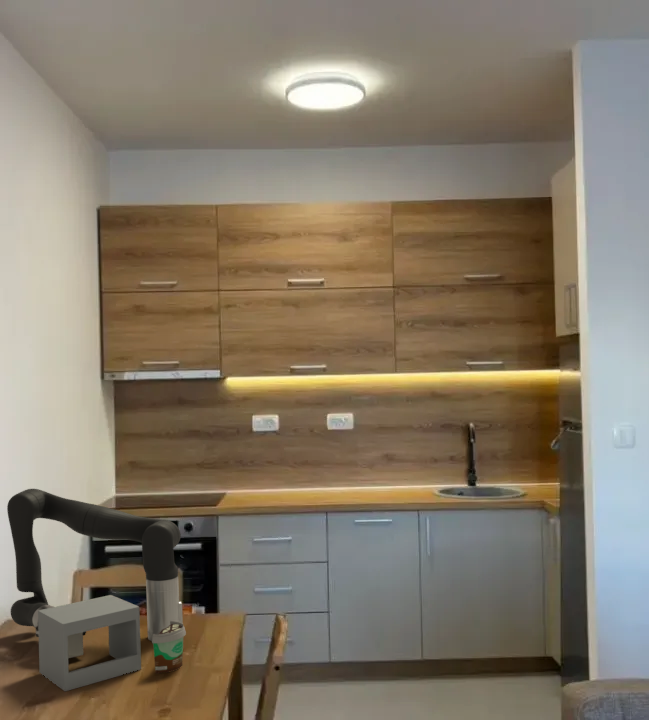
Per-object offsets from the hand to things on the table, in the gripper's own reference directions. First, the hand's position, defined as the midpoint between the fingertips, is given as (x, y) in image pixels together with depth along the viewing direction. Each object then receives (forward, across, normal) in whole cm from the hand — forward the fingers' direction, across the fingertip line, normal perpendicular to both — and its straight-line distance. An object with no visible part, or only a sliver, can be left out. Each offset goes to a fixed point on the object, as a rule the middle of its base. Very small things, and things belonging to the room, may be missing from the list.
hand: (74, 634), depth 208 cm
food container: (+23, +17, +7) cm, 30 cm away
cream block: (-3, 0, +6) cm, 7 cm away
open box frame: (+10, 0, +7) cm, 13 cm away
